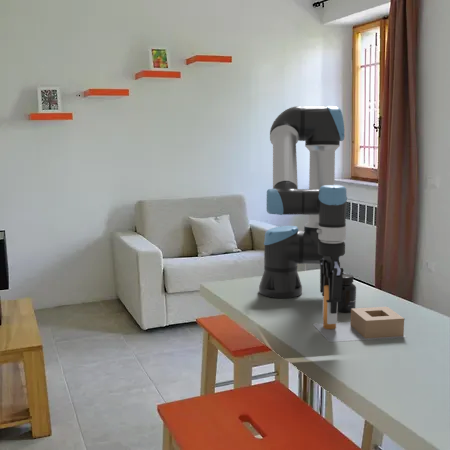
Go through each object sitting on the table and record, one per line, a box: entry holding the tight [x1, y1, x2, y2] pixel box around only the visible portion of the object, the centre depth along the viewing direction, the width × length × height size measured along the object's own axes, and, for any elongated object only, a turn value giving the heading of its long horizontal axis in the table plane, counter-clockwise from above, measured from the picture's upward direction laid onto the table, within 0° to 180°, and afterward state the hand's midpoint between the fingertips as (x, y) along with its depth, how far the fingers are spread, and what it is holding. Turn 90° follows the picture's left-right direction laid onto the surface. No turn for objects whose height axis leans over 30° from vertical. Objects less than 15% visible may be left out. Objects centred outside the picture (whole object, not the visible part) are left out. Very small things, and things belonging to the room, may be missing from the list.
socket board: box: [312, 306, 407, 343], centre depth 166 cm, size 15×22×6 cm
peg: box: [322, 285, 336, 329], centre depth 168 cm, size 4×4×12 cm
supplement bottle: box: [337, 273, 357, 314], centre depth 185 cm, size 7×7×12 cm
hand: (329, 321), depth 169 cm, fingers closed on peg, 3 cm apart
